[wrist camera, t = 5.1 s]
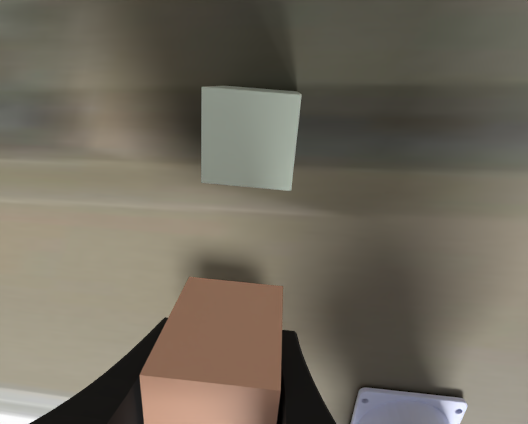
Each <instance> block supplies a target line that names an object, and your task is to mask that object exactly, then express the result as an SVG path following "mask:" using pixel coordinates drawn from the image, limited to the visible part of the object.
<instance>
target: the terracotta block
mask: <svg viewBox="0 0 528 424" xmlns="http://www.w3.org/2000/svg"><path fill="white" fill-rule="evenodd" d="M282 311H283V286H275V285H265V284H256V283H246V282H236V281H226V280H216V279H206V278H196V277H189V278H188V280H187V282H186V284H185V286H184V288H183V290H182V292H181V294H180V296H179V298H178V300H177V302H176V304H175V306H174V308H173V310H172V312H171V314H170V316H169V318H168V320H167V321H166V323H165V325H164V327H163V329H162V331H161V333H160V335H159V337H158V339H157V341H156V343H155V345H154V347H153V349H152V351H151V353H150V355H149V357H148V359H147V361H146V363H145V365H144V367H143V369H142V371H141V373H140V375H139V376H140V386H141V397H142V407H143V418H144V424H277V416H278V408H279V400H280V392H281V356H282Z"/></svg>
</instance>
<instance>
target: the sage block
mask: <svg viewBox="0 0 528 424" xmlns="http://www.w3.org/2000/svg"><path fill="white" fill-rule="evenodd" d="M301 96H302V95H301V94H300V93H299V92H297V91H285V90H272V89H260V88H247V87H235V86H207V87H202V112H201V183H210V184H221V185H232V186H243V187H254V188H265V189H276V190H287V191H291V186H292V177H293V168H294V159H295V150H296V141H297V132H298V123H299V114H300V105H301Z"/></svg>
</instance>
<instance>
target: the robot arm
mask: <svg viewBox="0 0 528 424" xmlns="http://www.w3.org/2000/svg"><path fill="white" fill-rule="evenodd" d="M167 320H168V318H164V319H163V320H162V321H161V322H160V323H159V324H158V325H157V326H156V327H155V328H154V329H153V330H152V331H151V332H150V333H149V334H148V335H147V336H146V337H145V338H144V339H143V340H142V341H140V342H139V343H138V344H137V345H136V346H135V347H134V348H133V349H132V350H131V351H130V352H129V353H128V354H127V355H125V356H124V357H123V358H122V359H121V360H120V361H119V362H117V363H116V364H115V365H114V366H113V367H111V368H110V369H109V370H108V371H107V372H106V373H104V374H103V375H102V376H100V377H99V378H98V379H97V380H95V381H94V382H93V383H91V384H90V385H89V386H87V387H86V388H85V389H83V390H82V391H80V392H79V393H78V394H76V395H75V396H73V397H72V398H70V399H69V400H67V401H66V402H64V403H63V404H61V405H59V406H58V407H56V408H55V409H53V410H52V411H50V412H48V413H47V414H45V415H43V416H42V417H40V418H38V419H37V420H35V421H33V422H31V423H30V424H144V418H143V407H142V397H141V386H140V376H139V375H140V373H141V371H142V369H143V367H144V365H145V363H146V361H147V359H148V357H149V355H150V353H151V351H152V349H153V347H154V345H155V343H156V341H157V339H158V337H159V335H160V333H161V331H162V329H163V327H164V325H165V323H166V321H167ZM466 409H467V403H466V401H465V400H464V399H463V398H458V397H449V396H440V395H431V394H422V393H413V392H403V391H394V390H385V389H376V388H367V387H364V388H361V389H360V390H359V392H358V396H357V400H356V404H355V408H354V412H353V416H352V420H351V424H460V422H461V420H462V418H463V415H464V413H465V411H466ZM277 424H336V422H335V421H334V419H333V417H332V415H331V414H330V412H329V410H328V409H327V407H326V405H325V403H324V401H323V399H322V397H321V395H320V393H319V391H318V389H317V387H316V385H315V383H314V381H313V379H312V376H311V374H310V372H309V369H308V367H307V365H306V362H305V359H304V357H303V354H302V351H301V348H300V345H299V341H298V337H297V334H296V332H295V331H287V330H282V356H281V392H280V400H279V408H278V416H277Z"/></svg>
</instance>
